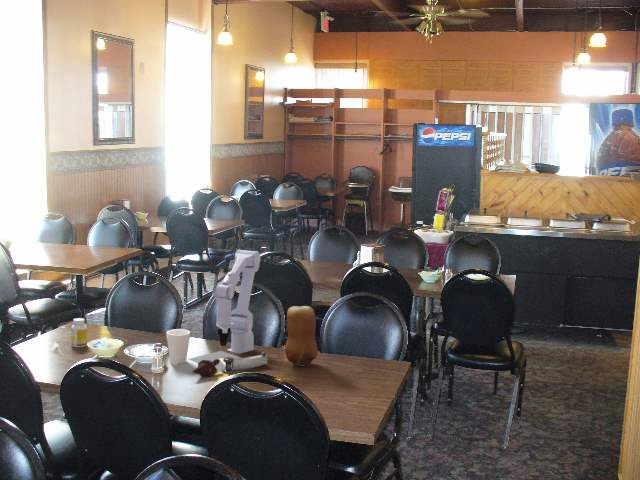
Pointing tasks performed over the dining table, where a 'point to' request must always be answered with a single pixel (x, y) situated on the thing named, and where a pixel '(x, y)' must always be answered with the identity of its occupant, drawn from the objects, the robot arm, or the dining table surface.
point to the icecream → (206, 367)
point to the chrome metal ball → (228, 368)
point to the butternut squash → (301, 335)
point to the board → (220, 366)
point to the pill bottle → (79, 333)
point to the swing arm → (246, 361)
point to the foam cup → (178, 345)
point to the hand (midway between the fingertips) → (223, 345)
